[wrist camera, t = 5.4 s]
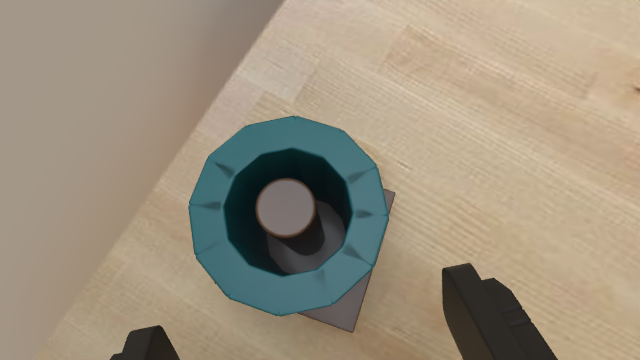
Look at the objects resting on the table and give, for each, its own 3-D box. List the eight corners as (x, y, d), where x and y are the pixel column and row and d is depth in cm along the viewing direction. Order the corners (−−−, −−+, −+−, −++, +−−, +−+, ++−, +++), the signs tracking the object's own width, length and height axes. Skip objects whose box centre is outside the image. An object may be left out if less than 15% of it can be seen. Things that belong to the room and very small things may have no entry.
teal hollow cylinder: (346, 318, 20) (351, 343, 12) (227, 276, 20) (158, 273, 12) (383, 198, 21) (410, 149, 13) (270, 162, 21) (232, 95, 14)
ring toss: (352, 329, 21) (364, 371, 11) (222, 283, 22) (128, 284, 12) (392, 198, 22) (433, 134, 13) (269, 159, 23) (219, 70, 13)
